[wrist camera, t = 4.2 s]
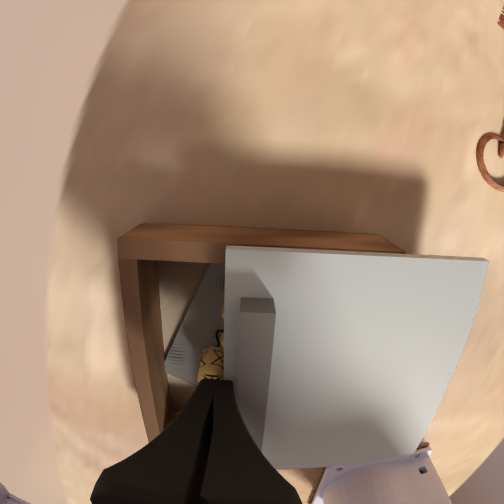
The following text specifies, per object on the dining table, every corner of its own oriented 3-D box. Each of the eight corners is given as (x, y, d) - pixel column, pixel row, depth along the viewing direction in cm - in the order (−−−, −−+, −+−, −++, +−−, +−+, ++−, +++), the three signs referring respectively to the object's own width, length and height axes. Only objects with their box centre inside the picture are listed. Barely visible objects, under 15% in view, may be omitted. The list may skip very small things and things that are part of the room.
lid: (482, 257, 12) (504, 269, 10) (411, 447, 16) (420, 466, 14) (226, 245, 12) (222, 259, 10) (224, 461, 15) (223, 484, 14)
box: (379, 234, 15) (405, 252, 12) (337, 422, 19) (347, 454, 16) (140, 223, 15) (117, 238, 12) (160, 416, 18) (150, 449, 15)
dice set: (323, 323, 16) (331, 342, 14) (276, 391, 17) (278, 413, 16) (234, 283, 16) (232, 300, 14) (194, 360, 17) (189, 381, 15)
